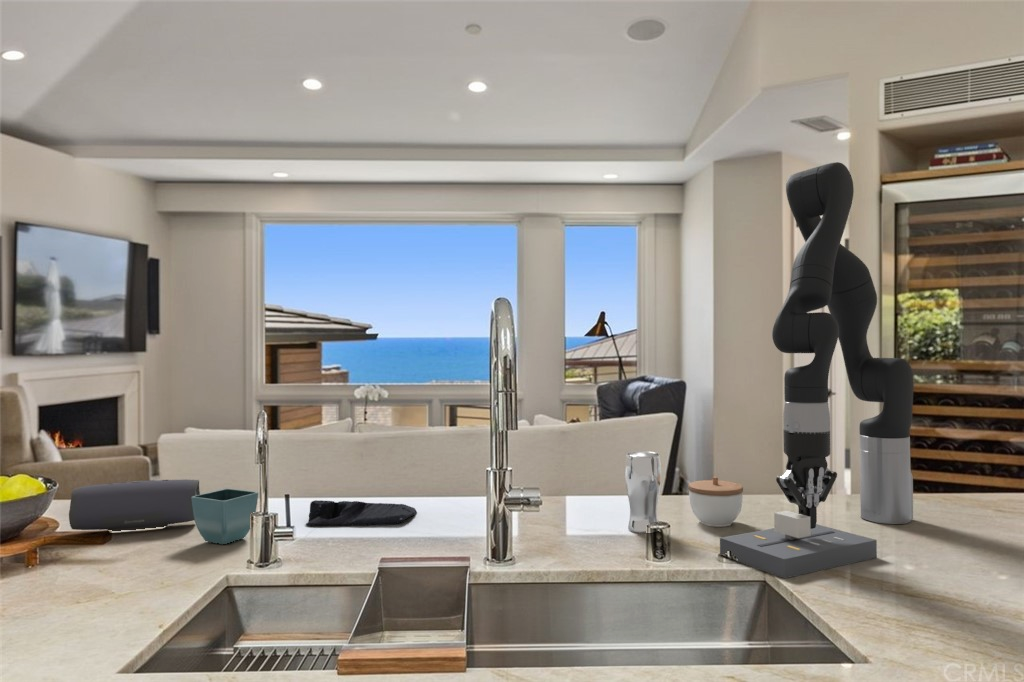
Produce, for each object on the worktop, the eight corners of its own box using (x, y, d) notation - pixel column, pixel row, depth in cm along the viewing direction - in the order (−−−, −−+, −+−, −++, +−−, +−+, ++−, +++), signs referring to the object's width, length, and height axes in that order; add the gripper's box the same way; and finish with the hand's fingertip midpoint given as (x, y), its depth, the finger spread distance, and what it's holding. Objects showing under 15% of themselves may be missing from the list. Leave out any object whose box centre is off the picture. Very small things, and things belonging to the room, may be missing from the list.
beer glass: (661, 535, 137) (661, 457, 137) (625, 533, 138) (624, 456, 138) (661, 526, 144) (660, 451, 144) (626, 524, 145) (625, 450, 145)
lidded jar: (685, 527, 143) (684, 480, 143) (692, 514, 153) (692, 471, 153) (741, 532, 139) (740, 483, 139) (745, 519, 149) (744, 474, 149)
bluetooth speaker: (201, 520, 154) (200, 473, 154) (196, 530, 145) (195, 481, 145) (81, 529, 147) (80, 481, 147) (68, 541, 138) (67, 489, 138)
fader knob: (786, 533, 125) (786, 510, 125) (810, 540, 121) (810, 516, 121) (774, 535, 124) (774, 512, 124) (798, 542, 119) (797, 518, 119)
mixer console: (808, 538, 134) (808, 521, 134) (876, 557, 121) (876, 539, 121) (720, 555, 124) (719, 537, 124) (784, 578, 111) (784, 558, 111)
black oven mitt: (403, 530, 144) (403, 507, 144) (299, 529, 147) (298, 505, 147) (421, 512, 160) (421, 491, 160) (326, 511, 162) (326, 490, 162)
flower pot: (260, 537, 139) (259, 491, 139) (224, 549, 131) (224, 500, 131) (226, 532, 143) (226, 487, 143) (190, 544, 135) (189, 496, 135)
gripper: (814, 423, 130) (815, 518, 130) (762, 428, 124) (763, 527, 124) (851, 427, 123) (852, 527, 123) (797, 432, 117) (798, 538, 117)
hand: (807, 527), depth 124 cm, fingers closed
